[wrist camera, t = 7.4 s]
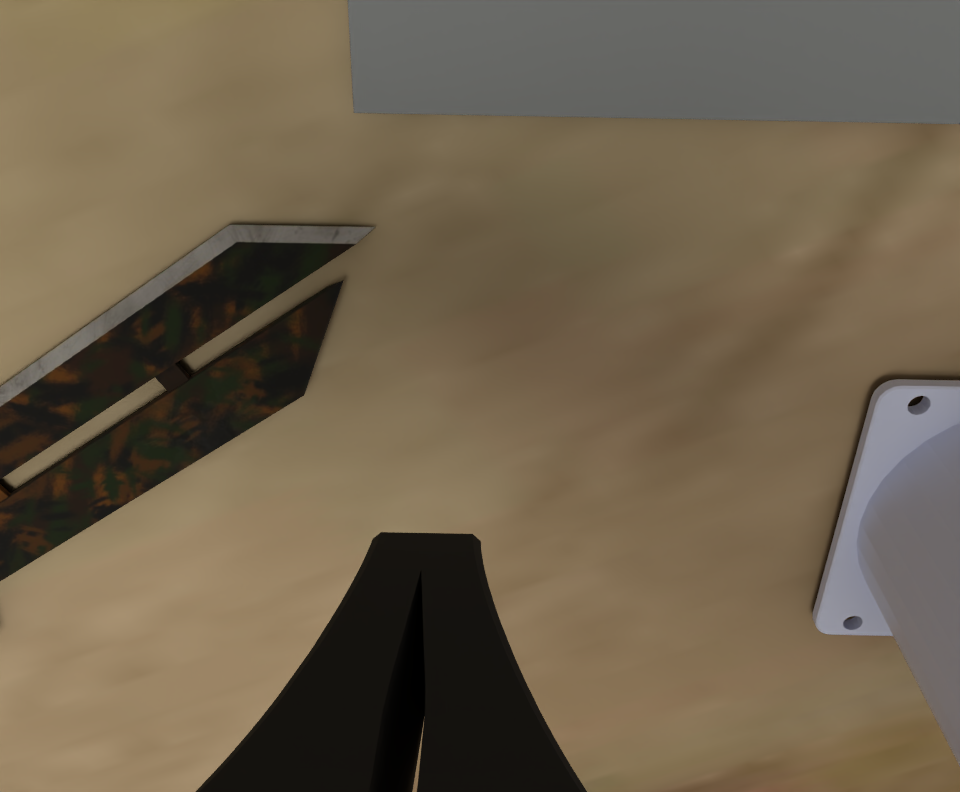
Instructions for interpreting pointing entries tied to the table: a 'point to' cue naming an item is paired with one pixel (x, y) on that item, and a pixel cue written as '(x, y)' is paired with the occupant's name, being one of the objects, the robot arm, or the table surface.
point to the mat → (660, 59)
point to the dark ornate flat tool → (162, 380)
